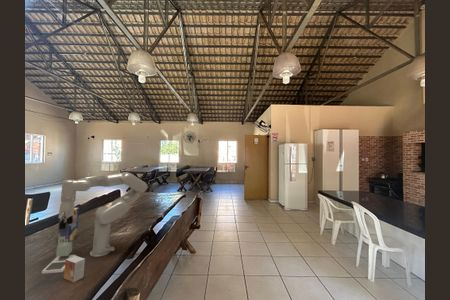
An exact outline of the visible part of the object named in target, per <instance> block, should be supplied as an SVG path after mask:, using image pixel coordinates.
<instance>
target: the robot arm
mask: <svg viewBox="0 0 450 300" xmlns="http://www.w3.org/2000/svg"><path fill="white" fill-rule="evenodd" d="M119 185H125V186H127V187H129V188H130V189H129V190H128V192H126V193H125V194H124V195H121V196H120V197H118V198H116V199H114V200H113V201H112V202H111V203H110V204H111V206H109V207H108V206H100V207H98V208H97V209H96V211H95V213H94V231H93V241H92V242H93V243H92V250H90V251H89V256H91V257H94V258H97V257H103V256H107V255H108V254H110V253H111V252H114V251H115V247H114V246H111V244H110V233H111V223H112V222H114V221H116V220H117V219H119V218H120V217H122V216H123V215H125V214H126V213H127V212H128V211H129V208H130V205H132V204H133V203H135V202H136V201H137V200H138V199H139V197H140V195H141V193H142V194H143V193H145V192H146V191H147V189H148V184H147V183H146V182H145V181H144V180H142V179H141V178H139V177H137V176H136V175H134V174H133V173H131V172H128V171H127V172H126V171H123V172H116V173H110V174H103V175H94V176H88V177H82V178H79V179H78V180H76V179H63V181H62V184H61V194H60V195H61V196H60V205H59V211H58V217H57V218H58V230H59V229H65V228H66V219H67V224H72V223H73V214H74V208H75V202H76V198H77V196H76V195H77V192H87V191H89V190H90V189H91V188H94V187H95V188H96V187H102V188H103V187H105V188H109V187H114V186H119ZM59 219H60V220H59ZM59 221H60V222H59ZM59 223H60V224H59Z"/></svg>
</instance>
